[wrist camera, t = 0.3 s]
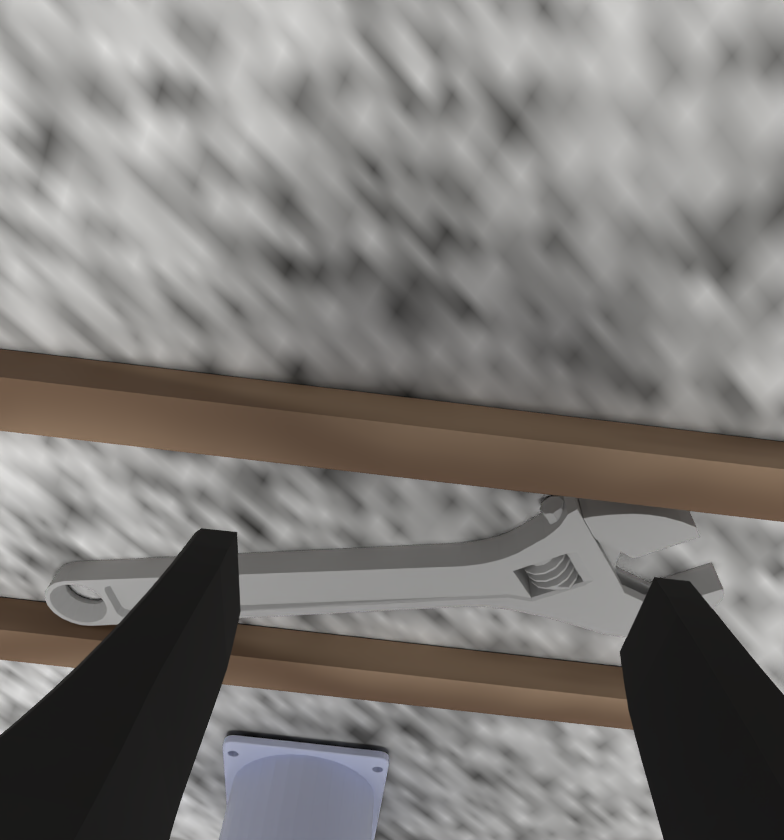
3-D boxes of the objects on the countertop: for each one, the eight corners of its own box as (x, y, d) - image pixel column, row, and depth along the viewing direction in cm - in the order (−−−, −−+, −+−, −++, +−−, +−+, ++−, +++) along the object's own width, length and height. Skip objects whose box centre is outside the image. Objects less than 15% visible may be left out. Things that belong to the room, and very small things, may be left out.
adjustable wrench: (76, 598, 28) (56, 633, 27) (20, 479, 25) (-6, 512, 23) (690, 605, 26) (705, 643, 25) (727, 476, 23) (746, 512, 21)
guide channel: (656, 701, 29) (667, 738, 28) (-226, 602, 29) (-260, 636, 27) (802, 442, 21) (828, 477, 20) (-416, 298, 21) (-479, 323, 19)
